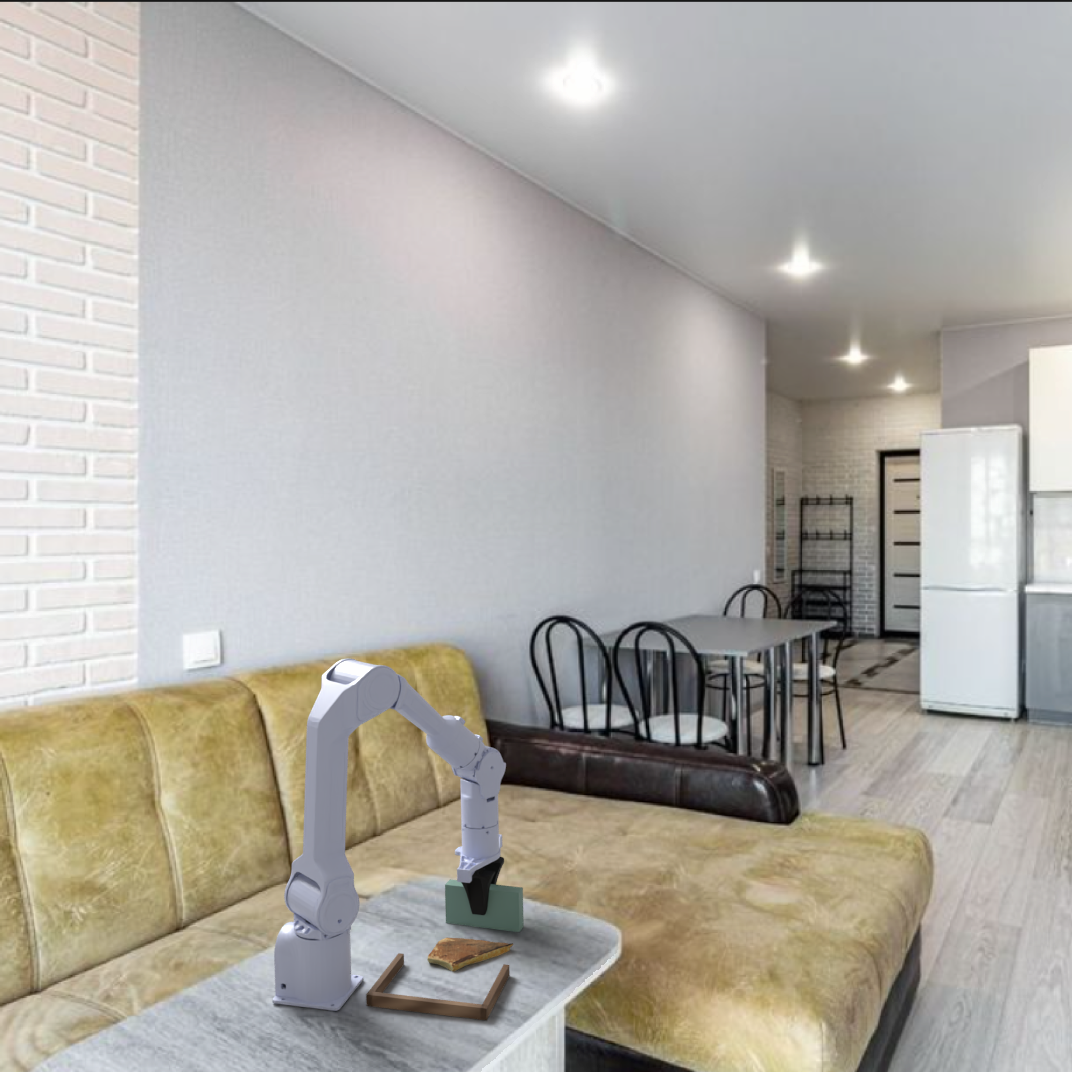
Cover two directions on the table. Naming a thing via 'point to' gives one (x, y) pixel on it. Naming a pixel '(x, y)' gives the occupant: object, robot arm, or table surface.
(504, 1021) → the table surface
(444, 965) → the shard
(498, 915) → the bar
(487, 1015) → the walnut frame
